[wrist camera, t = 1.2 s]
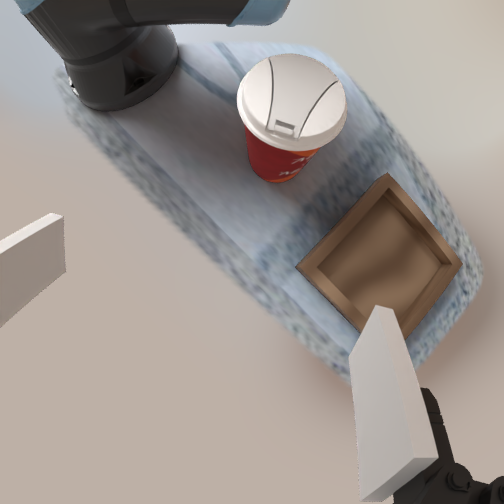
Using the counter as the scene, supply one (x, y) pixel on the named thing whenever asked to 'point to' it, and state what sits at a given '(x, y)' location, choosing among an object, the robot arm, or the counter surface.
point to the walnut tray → (382, 259)
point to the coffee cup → (289, 113)
